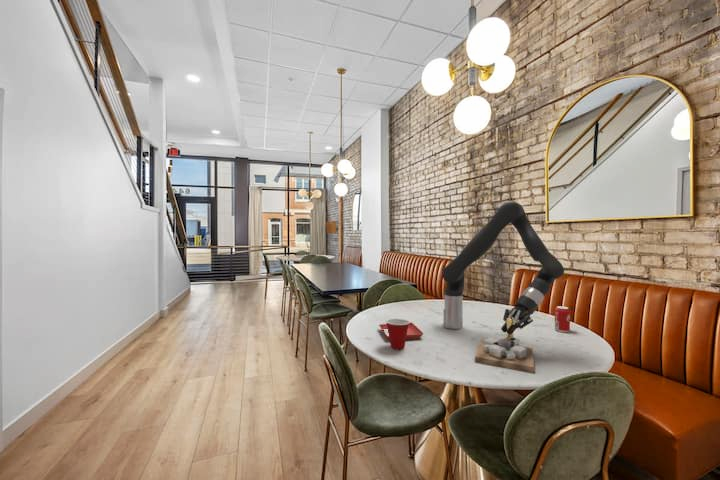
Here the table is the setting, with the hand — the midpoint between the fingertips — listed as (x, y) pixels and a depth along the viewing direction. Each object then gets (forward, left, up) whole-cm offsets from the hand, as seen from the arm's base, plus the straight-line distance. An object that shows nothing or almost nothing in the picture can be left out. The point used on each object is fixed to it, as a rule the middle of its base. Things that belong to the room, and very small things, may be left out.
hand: (505, 332), depth 123 cm
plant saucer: (-47, +2, -10) cm, 48 cm away
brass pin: (+2, +1, -7) cm, 7 cm away
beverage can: (+24, +44, -9) cm, 51 cm away
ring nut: (0, -4, -7) cm, 8 cm away
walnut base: (0, -4, -9) cm, 10 cm away
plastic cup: (-42, -14, -9) cm, 45 cm away
